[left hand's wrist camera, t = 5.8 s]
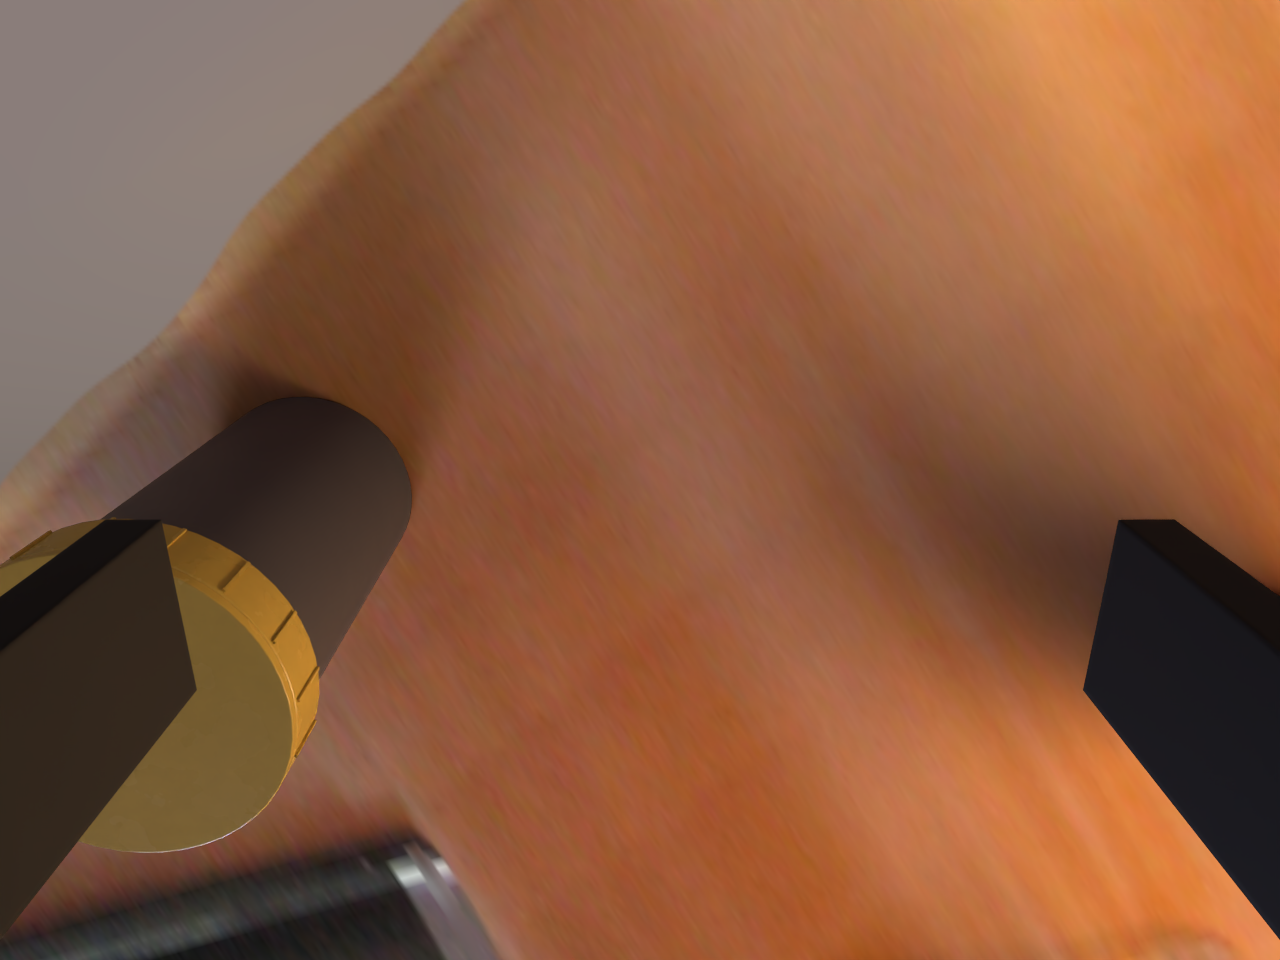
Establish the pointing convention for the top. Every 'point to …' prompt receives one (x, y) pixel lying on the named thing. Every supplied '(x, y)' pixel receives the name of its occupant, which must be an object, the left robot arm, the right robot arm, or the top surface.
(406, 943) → the top surface
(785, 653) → the top surface
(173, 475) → the screw-top jar
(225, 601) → the lid
